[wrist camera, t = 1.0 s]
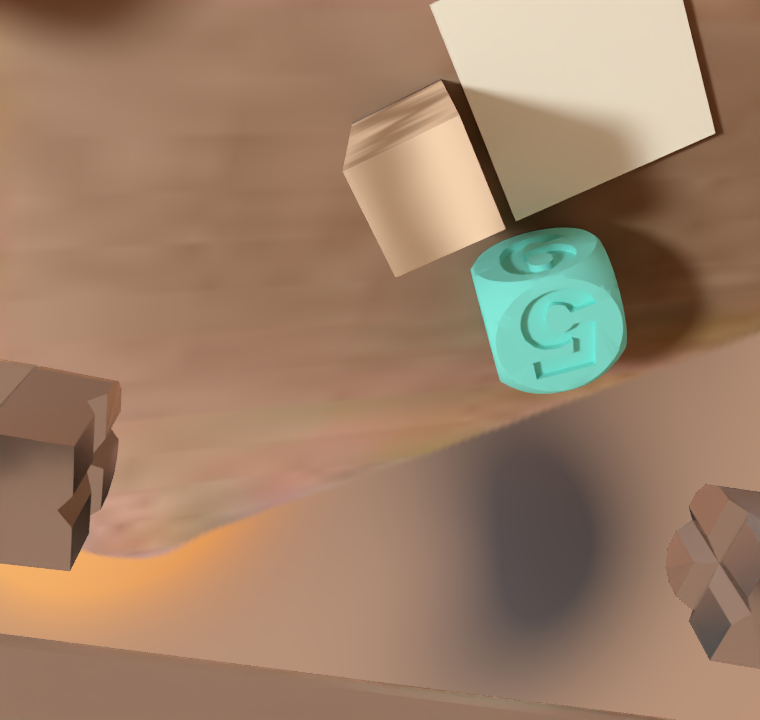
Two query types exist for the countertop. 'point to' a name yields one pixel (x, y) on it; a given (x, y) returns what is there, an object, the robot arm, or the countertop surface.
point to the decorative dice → (550, 309)
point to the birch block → (419, 180)
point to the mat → (575, 89)
